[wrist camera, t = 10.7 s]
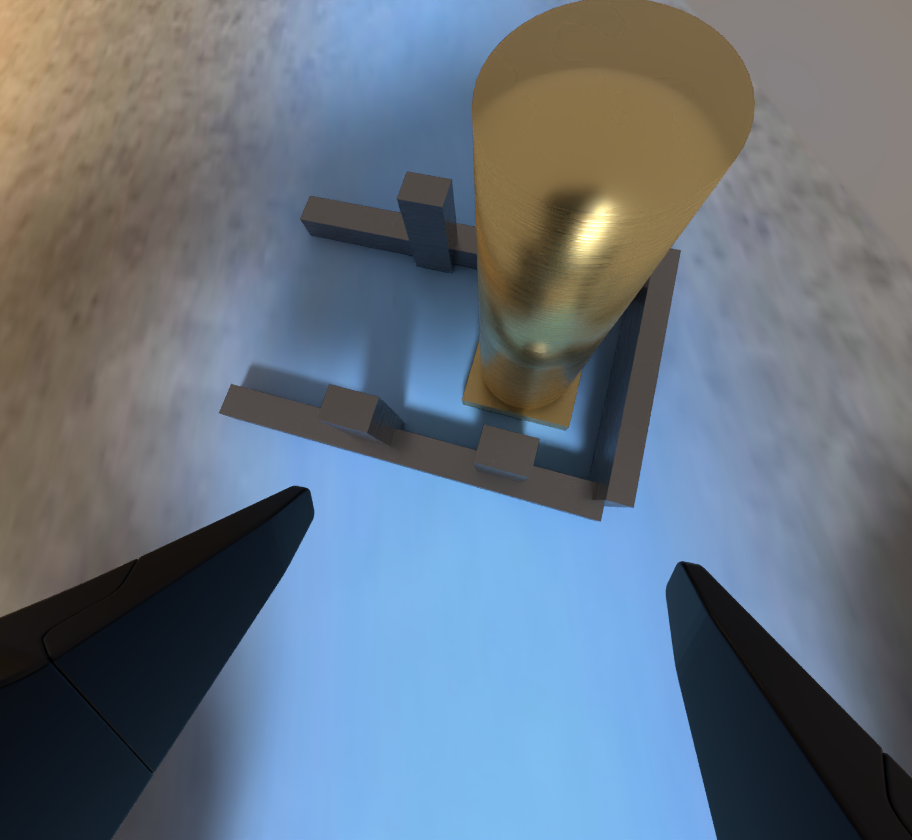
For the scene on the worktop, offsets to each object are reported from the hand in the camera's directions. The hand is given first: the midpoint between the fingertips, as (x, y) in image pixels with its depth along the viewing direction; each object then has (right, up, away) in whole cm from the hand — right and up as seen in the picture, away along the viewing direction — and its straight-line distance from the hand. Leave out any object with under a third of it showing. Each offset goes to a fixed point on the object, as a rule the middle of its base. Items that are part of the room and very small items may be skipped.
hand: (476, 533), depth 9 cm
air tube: (+3, +5, +9) cm, 11 cm away
